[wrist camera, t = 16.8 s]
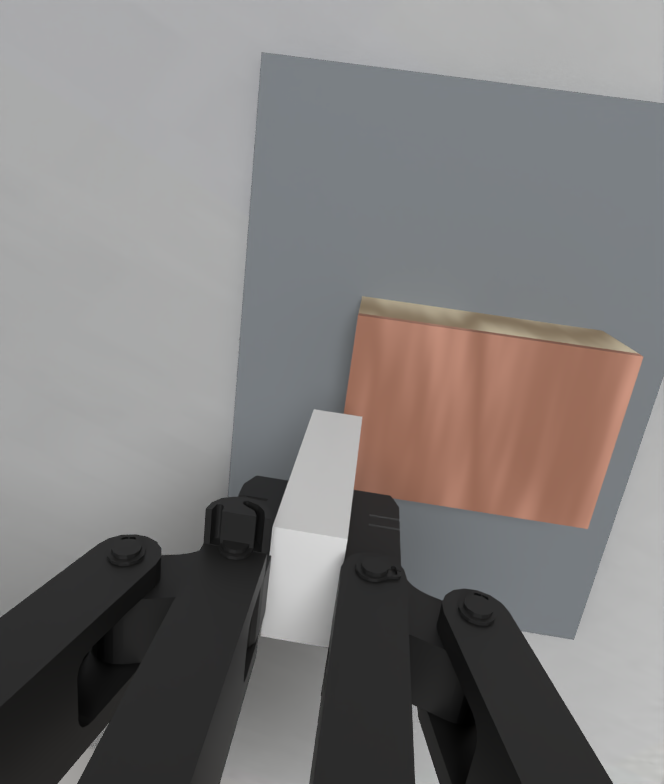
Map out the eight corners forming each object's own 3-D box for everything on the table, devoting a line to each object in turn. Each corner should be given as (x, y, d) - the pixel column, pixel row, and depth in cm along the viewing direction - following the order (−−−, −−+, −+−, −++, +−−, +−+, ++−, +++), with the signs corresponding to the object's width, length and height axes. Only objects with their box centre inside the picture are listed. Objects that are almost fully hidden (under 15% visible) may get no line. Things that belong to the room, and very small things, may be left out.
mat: (224, 573, 30) (221, 581, 29) (264, 55, 22) (261, 52, 21) (570, 631, 29) (573, 639, 29) (742, 116, 21) (752, 114, 21)
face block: (333, 488, 23) (587, 529, 22) (358, 315, 20) (643, 356, 20) (340, 446, 26) (558, 480, 26) (362, 296, 24) (602, 330, 24)
